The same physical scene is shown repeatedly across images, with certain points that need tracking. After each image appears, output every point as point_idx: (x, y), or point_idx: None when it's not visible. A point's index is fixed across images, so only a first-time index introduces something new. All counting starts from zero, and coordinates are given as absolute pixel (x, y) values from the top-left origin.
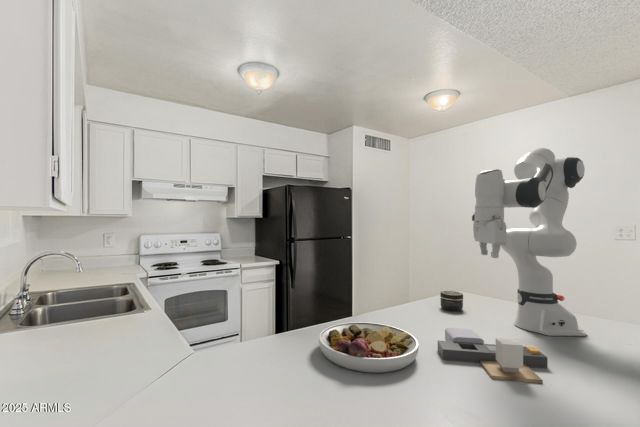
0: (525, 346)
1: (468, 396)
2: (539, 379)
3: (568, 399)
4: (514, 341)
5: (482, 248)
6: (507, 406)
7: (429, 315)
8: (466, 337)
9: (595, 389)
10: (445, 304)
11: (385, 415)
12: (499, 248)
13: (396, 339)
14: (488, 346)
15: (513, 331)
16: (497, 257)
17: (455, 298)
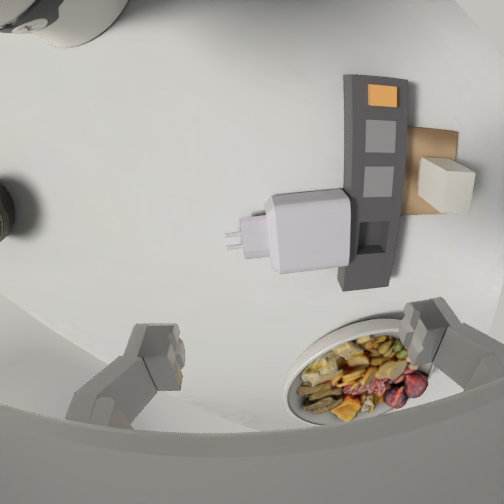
0: (371, 105)
1: (477, 256)
2: (456, 136)
3: (488, 122)
4: (458, 179)
5: (143, 395)
6: (497, 217)
7: (78, 270)
8: (349, 240)
9: (458, 52)
10: (6, 233)
11: (484, 329)
12: (500, 348)
13: (355, 354)
14: (369, 192)
15: (133, 57)
16: (439, 302)
17: None
